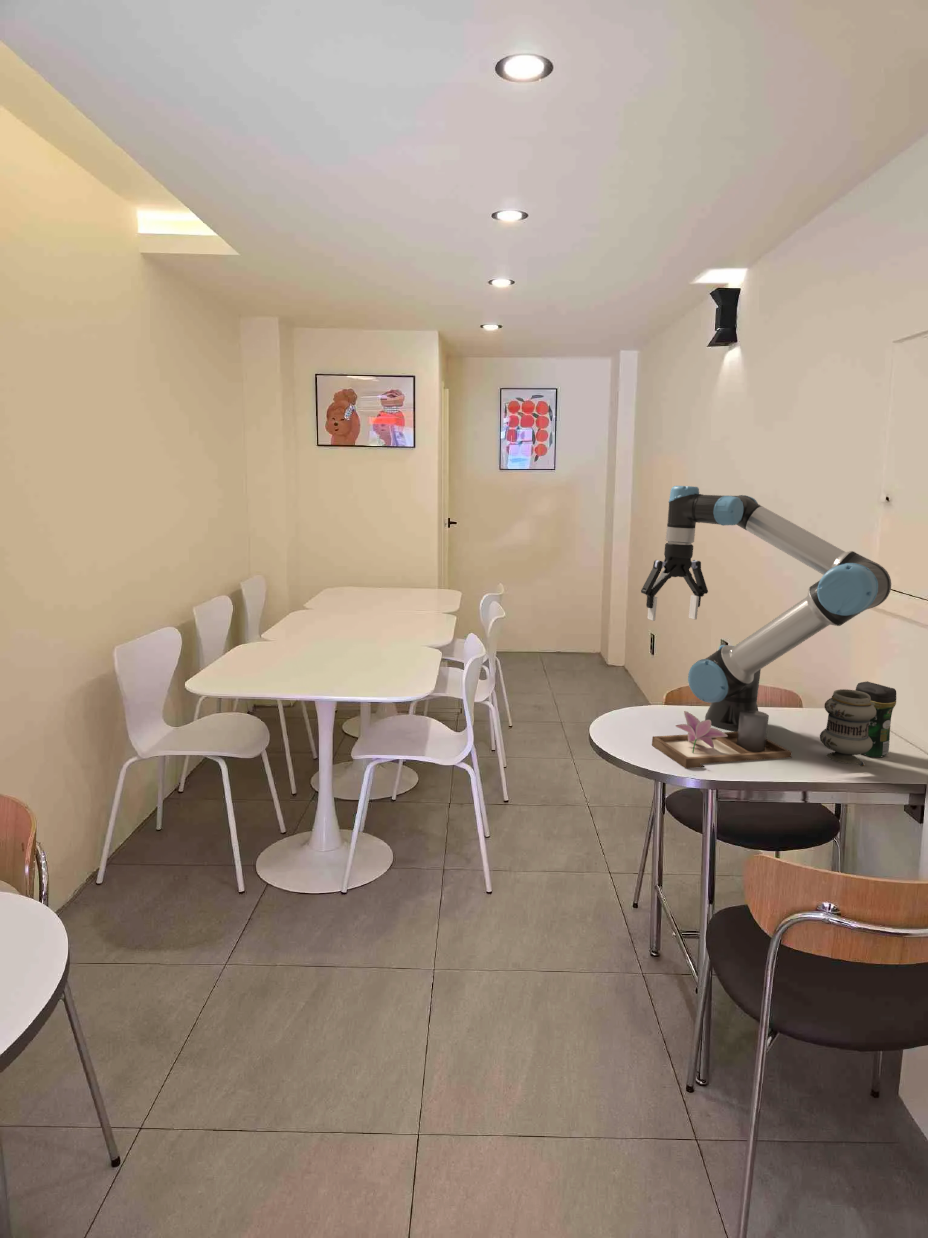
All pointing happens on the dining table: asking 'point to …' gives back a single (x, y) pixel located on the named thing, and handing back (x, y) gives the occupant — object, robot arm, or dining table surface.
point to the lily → (700, 730)
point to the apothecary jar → (848, 725)
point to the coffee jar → (879, 716)
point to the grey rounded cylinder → (752, 730)
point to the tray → (713, 750)
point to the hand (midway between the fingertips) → (672, 619)
